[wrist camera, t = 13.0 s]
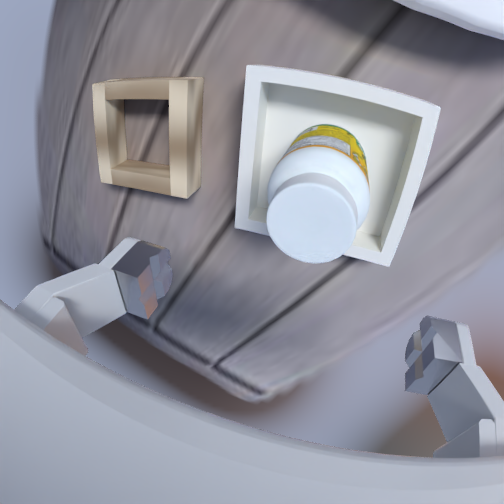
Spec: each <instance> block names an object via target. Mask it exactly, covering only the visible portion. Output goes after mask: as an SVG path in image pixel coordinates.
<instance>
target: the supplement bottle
mask: <svg viewBox="0 0 504 504" xmlns="http://www.w3.org/2000/svg"><path fill="white" fill-rule="evenodd" d="M267 198H268V204H269V207H268V210H267V216H266V224H267V229H268V232H269V235H270V237H271V239H272V240H273V242H274V243H275V244H276V246H277V247H278V248H279V249H280V250H281V251H282V252H284V253H285V254H287V255H288V256H290V257H292V258H294V259H296V260H299V261H302V262H307V263H325V262H329V261H332V260H334V259H337V258H338V257H340V256H341V255H343V254H344V253H345V252H346V251H347V250H348V249H349V248H350V246H351V245H352V243H353V241H354V239H355V236H356V231H357V230H358V229H359V228H360V227H361V225H362V224H363V222H364V220H365V219H366V216H367V214H368V211H369V206H370V188H369V179H368V170H367V163H366V156H365V153H364V150H363V148H362V146H361V144H360V142H359V141H358V139H357V138H356V137H355V136H354V135H353V134H352V133H351V132H350V131H349V130H347V129H345V128H343V127H341V126H338V125H335V124H328V123H324V124H317V125H313V126H311V127H309V128H307V129H305V130H304V131H302V132H301V133H300V134H299V135H298V136H297V137H296V139H295V140H294V141H293V142H292V144H291V145H290V147H289V148H288V150H287V151H286V152H285V154H284V155H283V156H282V158H281V159H280V161H279V162H278V163H277V165H276V167H275V168H274V170H273V172H272V174H271V176H270V179H269V182H268V188H267Z"/></svg>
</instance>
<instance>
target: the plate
mask: <svg viewBox="0 0 504 504" xmlns="http://www.w3.org/2000/svg"><path fill="white" fill-rule="evenodd" d="M393 1H395V2H398V3H400V4H402V5H404V6H406V7H408V8H410V9H413V10H416V11H419V12H422V13H425V14H428V15H431V16H434V17H436V18H439V19H442V20H445V21H447V22H450V23H452V24H455V25H457V26H460V27H462V28H464V29H467V30H469V31H473V32H477V33H480V34H484V35H488V36H491V37H495V38H498V39H501V40H504V0H393Z"/></svg>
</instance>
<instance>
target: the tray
mask: <svg viewBox="0 0 504 504" xmlns="http://www.w3.org/2000/svg"><path fill="white" fill-rule="evenodd" d="M440 109H441V107H439V106H437V105H435V104H433V103H431V102H428V101H426V100H423V99H420V98H417V97H414V96H411V95H407V94H404V93H401V92H398V91H394V90H391V89H387V88H384V87H380V86H376V85H373V84H369V83H365V82H360V81H356V80H352V79H347V78H343V77H338V76H333V75H328V74H323V73H317V72H311V71H305V70H298V69H292V68H284V67H276V66H267V65H247V67H246V79H245V91H244V103H243V116H242V129H241V142H240V156H239V170H238V184H237V199H236V215H235V228H238V229H242V230H247V231H251V232H255V233H259V234H263V235H267V236H270V235H269V232H268V229H267V224H266V216H267V210H268V207H269V204H268V198H267V188H268V182H269V179H270V176H271V174H272V172H273V170H274V168H275V167H276V165H277V163H278V162H279V161H280V159H281V158H282V156H283V155H284V154H285V152H286V151H287V150H288V148H289V147H290V145H291V144H292V142H293V141H294V140H295V139H296V137H297V136H298V135H299V134H300V133H301V132H302V131H304V130H305V129H307V128H309V127H311V126H313V125H317V124H324V123H328V124H335V125H338V126H341V127H343V128H345V129H347V130H349V131H350V132H351V133H352V134H353V135H354V136H355V137H356V138H357V139H358V141H359V142H360V144H361V146H362V148H363V150H364V153H365V156H366V163H367V170H368V179H369V188H370V206H369V211H368V214H367V216H366V219H365V220H364V222H363V224H362V225H361V227H360V228H359V229H358V230H357V231H356V236H355V239H354V241H353V243H352V245H351V246H350V248H349V249H348V250H347V251H346V252H345V253H344V254H343V255H346V256H350V257H354V258H358V259H362V260H366V261H369V262H373V263H377V264H381V265H384V266H388V267H389V266H390V263H391V261H392V259H393V256H394V254H395V251H396V249H397V246H398V244H399V241H400V239H401V236H402V234H403V231H404V228H405V226H406V223H407V220H408V218H409V215H410V212H411V209H412V206H413V204H414V201H415V198H416V195H417V192H418V189H419V186H420V183H421V179H422V176H423V173H424V170H425V166H426V163H427V160H428V156H429V153H430V149H431V145H432V142H433V138H434V134H435V130H436V126H437V122H438V118H439V114H440Z"/></svg>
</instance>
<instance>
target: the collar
mask: <svg viewBox="0 0 504 504" xmlns="http://www.w3.org/2000/svg"><path fill="white" fill-rule="evenodd" d="M203 84H204V78H201V77H146V78H126V79H113V80H107V81H103V82H98V83H94V84H92V90H93V110H94V124H95V135H96V146H97V155H98V163H99V171H100V178H101V182H103V183H108V184H114V185H119V186H125V187H130V188H135V189H140V190H146V191H151V192H156V193H161V194H166V195H171V196H176V197H181V198H186V199H187V198H189V197H190V196H191V195H192V194H193V193H194V192H195V191H196V190H197V189H199V188H200V187H201V137H202V106H203ZM124 99H166V100H169V157H170V166H169V165H163V164H156V163H149V162H142V161H134V160H127V149H126V135H125V116H124Z"/></svg>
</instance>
